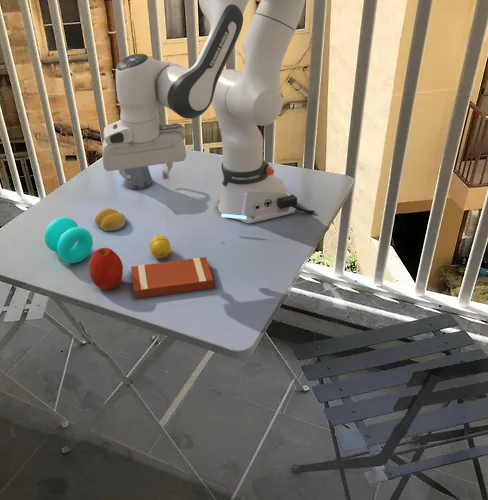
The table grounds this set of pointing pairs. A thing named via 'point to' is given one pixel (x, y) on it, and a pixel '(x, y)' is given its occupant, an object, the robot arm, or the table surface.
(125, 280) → the table surface
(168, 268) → the tea towel
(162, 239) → the lemon
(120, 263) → the apple
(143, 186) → the moka pot
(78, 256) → the donuts
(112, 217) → the bread roll
